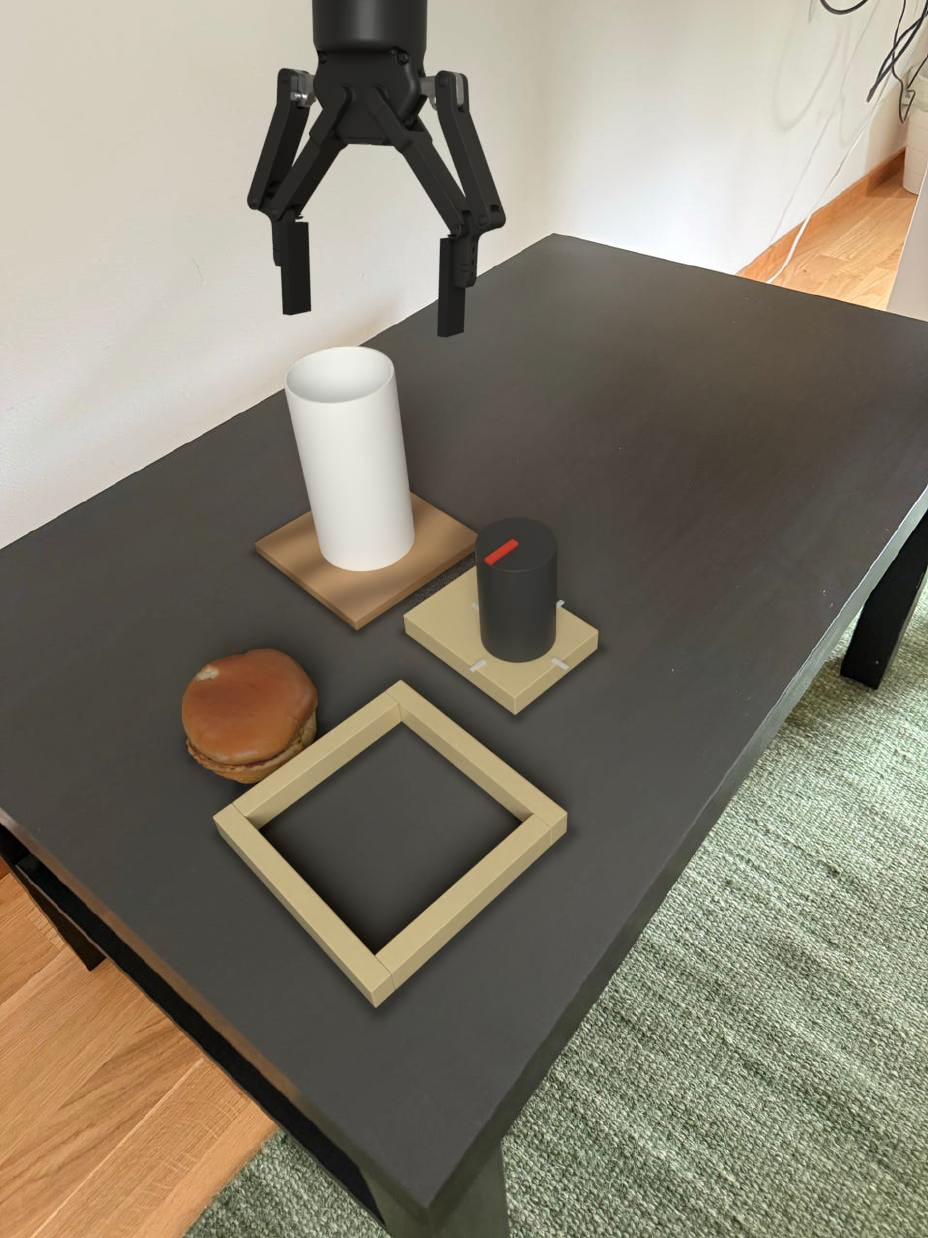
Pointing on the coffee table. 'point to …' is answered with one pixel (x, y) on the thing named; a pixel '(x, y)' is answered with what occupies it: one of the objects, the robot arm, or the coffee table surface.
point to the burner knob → (517, 588)
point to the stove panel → (457, 641)
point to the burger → (249, 714)
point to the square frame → (448, 911)
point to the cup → (352, 455)
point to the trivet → (378, 589)
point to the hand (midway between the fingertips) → (371, 323)
